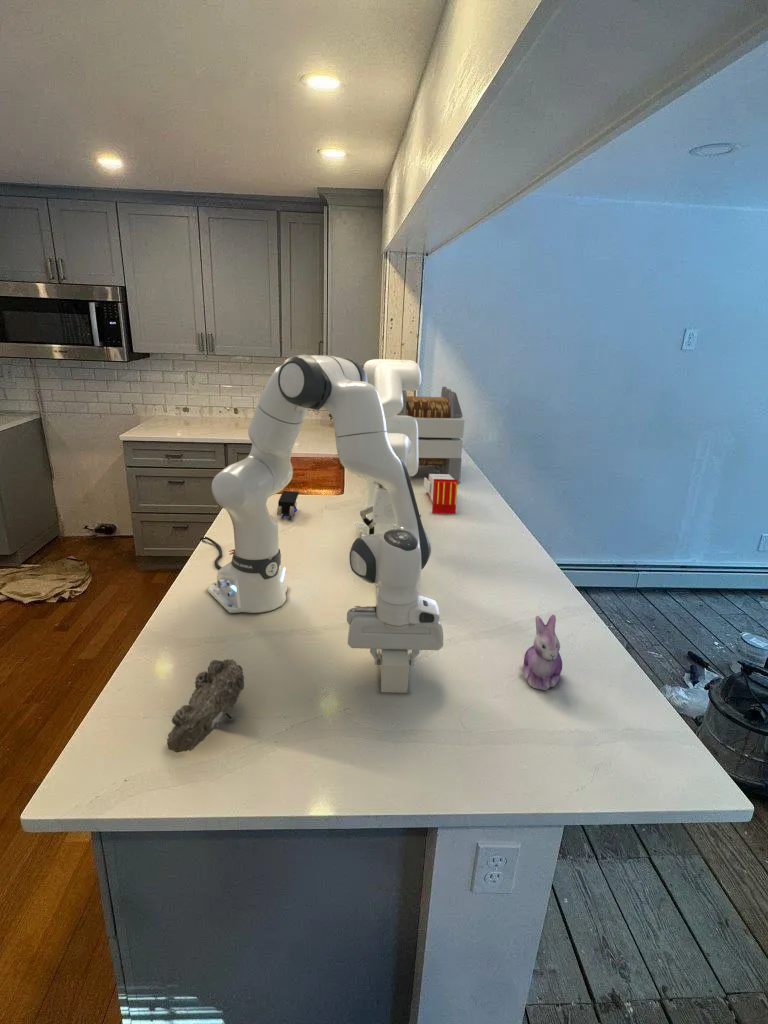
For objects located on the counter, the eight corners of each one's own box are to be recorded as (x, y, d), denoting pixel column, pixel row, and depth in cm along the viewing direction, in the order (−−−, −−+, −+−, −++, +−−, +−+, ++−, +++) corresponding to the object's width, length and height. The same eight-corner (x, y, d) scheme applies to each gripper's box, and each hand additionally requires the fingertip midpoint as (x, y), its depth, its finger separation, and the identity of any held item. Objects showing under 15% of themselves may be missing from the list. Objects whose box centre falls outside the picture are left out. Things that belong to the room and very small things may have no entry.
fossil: (192, 660, 117) (244, 628, 112) (224, 691, 120) (276, 661, 115) (142, 746, 98) (202, 712, 93) (182, 779, 101) (242, 748, 96)
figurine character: (294, 525, 207) (299, 507, 220) (294, 506, 203) (299, 489, 217) (276, 524, 206) (282, 506, 220) (275, 506, 203) (281, 489, 216)
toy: (450, 470, 246) (461, 480, 217) (448, 500, 249) (459, 514, 219) (422, 469, 246) (430, 479, 216) (421, 499, 248) (428, 514, 219)
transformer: (382, 463, 289) (386, 382, 275) (445, 464, 293) (451, 384, 279) (390, 482, 257) (394, 392, 243) (460, 483, 261) (468, 394, 247)
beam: (377, 567, 173) (378, 546, 171) (395, 567, 174) (396, 547, 171) (381, 692, 117) (382, 664, 115) (407, 692, 117) (409, 664, 115)
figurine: (541, 697, 118) (551, 634, 112) (509, 670, 126) (518, 610, 121) (575, 685, 122) (586, 624, 117) (542, 660, 130) (551, 602, 125)
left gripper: (346, 613, 114) (345, 671, 119) (447, 616, 115) (442, 673, 120) (347, 598, 120) (346, 654, 125) (443, 601, 121) (438, 656, 126)
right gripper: (360, 486, 154) (358, 544, 160) (424, 488, 155) (420, 546, 160) (361, 478, 161) (359, 534, 167) (421, 480, 162) (417, 536, 168)
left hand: (394, 663), depth 122 cm, fingers closed on beam, 5 cm apart
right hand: (389, 540), depth 164 cm, fingers open, 9 cm apart
